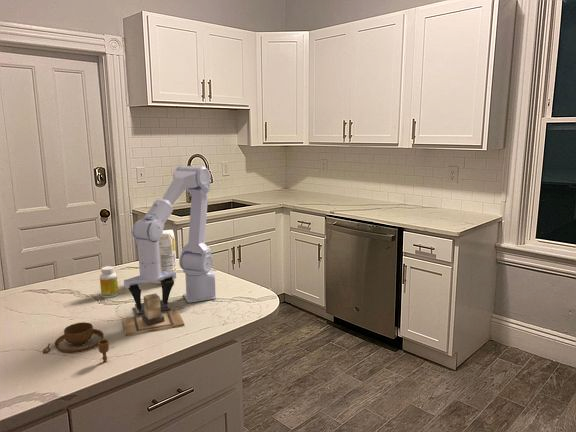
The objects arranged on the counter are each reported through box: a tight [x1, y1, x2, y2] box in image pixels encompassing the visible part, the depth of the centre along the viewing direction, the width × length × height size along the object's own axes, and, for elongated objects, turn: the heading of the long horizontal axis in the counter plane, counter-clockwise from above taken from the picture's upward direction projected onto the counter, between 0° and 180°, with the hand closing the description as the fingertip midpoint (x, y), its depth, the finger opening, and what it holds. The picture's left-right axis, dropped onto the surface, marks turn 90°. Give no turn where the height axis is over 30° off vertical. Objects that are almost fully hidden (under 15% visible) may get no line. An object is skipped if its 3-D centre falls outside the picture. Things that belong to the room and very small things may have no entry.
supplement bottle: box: [99, 265, 119, 299], centre depth 151 cm, size 5×5×10 cm
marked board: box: [122, 309, 185, 337], centre depth 131 cm, size 16×11×1 cm
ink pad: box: [134, 299, 172, 316], centre depth 140 cm, size 10×8×1 cm
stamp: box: [142, 292, 165, 326], centre depth 130 cm, size 5×5×8 cm
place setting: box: [42, 321, 113, 364], centre depth 115 cm, size 18×20×6 cm
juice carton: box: [152, 229, 177, 285], centre depth 164 cm, size 8×9×19 cm
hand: (152, 306), depth 130 cm, fingers open, 7 cm apart
